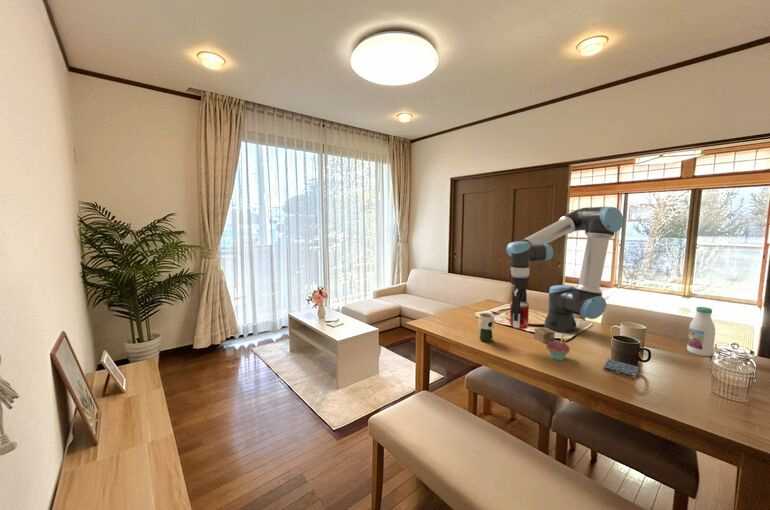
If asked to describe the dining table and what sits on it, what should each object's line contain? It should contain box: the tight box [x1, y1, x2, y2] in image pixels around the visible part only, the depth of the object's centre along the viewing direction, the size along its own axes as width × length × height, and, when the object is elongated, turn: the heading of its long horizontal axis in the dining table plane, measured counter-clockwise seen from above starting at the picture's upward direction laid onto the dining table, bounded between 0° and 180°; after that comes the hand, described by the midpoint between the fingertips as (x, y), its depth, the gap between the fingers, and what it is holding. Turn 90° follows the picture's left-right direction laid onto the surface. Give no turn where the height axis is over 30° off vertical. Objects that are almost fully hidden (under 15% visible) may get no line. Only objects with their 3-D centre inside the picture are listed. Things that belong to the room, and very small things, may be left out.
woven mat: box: [601, 358, 639, 380], centre depth 118 cm, size 10×11×2 cm
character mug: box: [478, 312, 495, 342], centre depth 148 cm, size 11×7×13 cm, turn 136°
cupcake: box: [545, 332, 571, 361], centre depth 128 cm, size 9×8×12 cm
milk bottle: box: [686, 306, 716, 357], centre depth 128 cm, size 8×8×20 cm
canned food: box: [509, 301, 530, 330], centre depth 137 cm, size 8×8×11 cm
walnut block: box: [534, 327, 555, 344], centre depth 147 cm, size 6×6×5 cm
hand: (519, 324), depth 138 cm, fingers closed on canned food, 8 cm apart
